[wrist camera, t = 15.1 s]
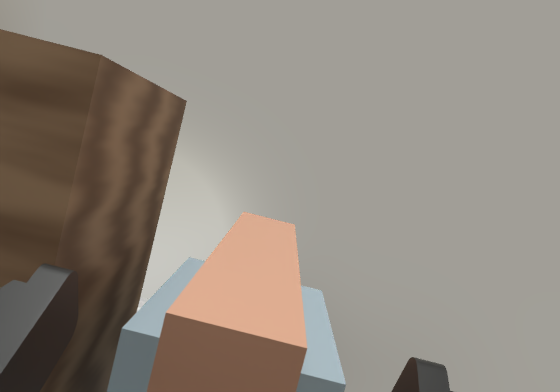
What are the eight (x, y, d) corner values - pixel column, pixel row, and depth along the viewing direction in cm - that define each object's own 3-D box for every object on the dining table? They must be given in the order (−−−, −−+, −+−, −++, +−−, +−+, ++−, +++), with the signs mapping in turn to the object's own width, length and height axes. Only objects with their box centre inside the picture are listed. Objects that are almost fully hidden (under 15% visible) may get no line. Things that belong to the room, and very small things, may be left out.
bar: (271, 483, 15) (307, 348, 15) (132, 448, 15) (165, 312, 15) (281, 274, 41) (294, 224, 40) (231, 262, 41) (243, 211, 40)
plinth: (-58, 767, 24) (101, 55, 21) (-278, 713, 23) (-145, -8, 21) (91, 502, 41) (186, 101, 39) (-34, 471, 41) (54, 67, 39)
